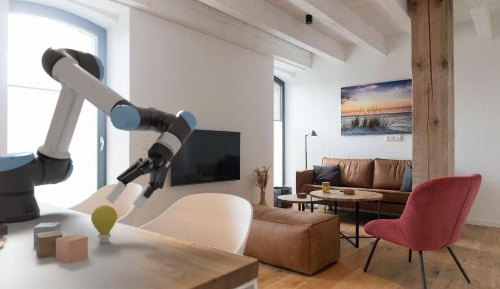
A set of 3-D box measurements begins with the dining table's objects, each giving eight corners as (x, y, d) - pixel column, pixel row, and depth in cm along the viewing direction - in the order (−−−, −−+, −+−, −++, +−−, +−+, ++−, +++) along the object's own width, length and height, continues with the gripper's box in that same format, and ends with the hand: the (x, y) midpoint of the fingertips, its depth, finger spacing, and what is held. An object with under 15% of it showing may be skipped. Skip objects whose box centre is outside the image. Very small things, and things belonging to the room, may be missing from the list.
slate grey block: (40, 240, 98) (40, 223, 98) (60, 239, 99) (60, 222, 99) (33, 246, 93) (33, 227, 93) (54, 245, 94) (54, 226, 94)
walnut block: (36, 253, 87) (36, 233, 87) (59, 249, 90) (59, 230, 90) (38, 258, 83) (38, 237, 83) (62, 254, 86) (62, 234, 86)
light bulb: (85, 243, 95) (85, 206, 95) (103, 237, 101) (103, 202, 101) (105, 246, 93) (105, 208, 92) (122, 239, 99) (122, 204, 99)
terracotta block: (55, 259, 83) (55, 238, 83) (76, 253, 87) (76, 233, 87) (67, 263, 80) (67, 241, 80) (88, 257, 84) (88, 236, 84)
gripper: (197, 158, 106) (157, 216, 94) (147, 156, 121) (107, 206, 110) (184, 141, 102) (140, 200, 90) (133, 141, 117) (90, 191, 105)
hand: (122, 203), depth 100 cm, fingers open, 13 cm apart
